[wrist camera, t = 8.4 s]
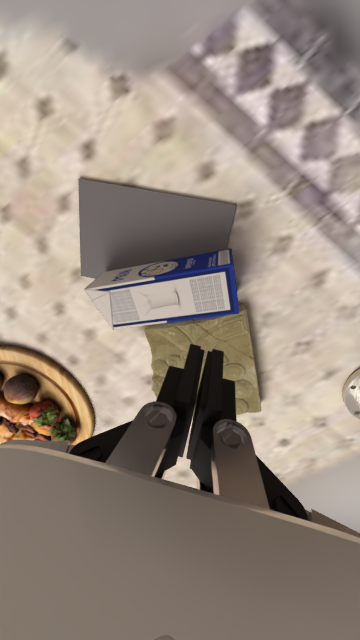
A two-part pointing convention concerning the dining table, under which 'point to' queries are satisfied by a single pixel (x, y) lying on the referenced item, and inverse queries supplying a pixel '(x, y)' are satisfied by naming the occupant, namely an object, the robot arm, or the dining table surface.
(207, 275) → the milk carton
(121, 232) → the mat
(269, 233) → the dining table surface
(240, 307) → the decorative tile
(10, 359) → the wooden plate with food
